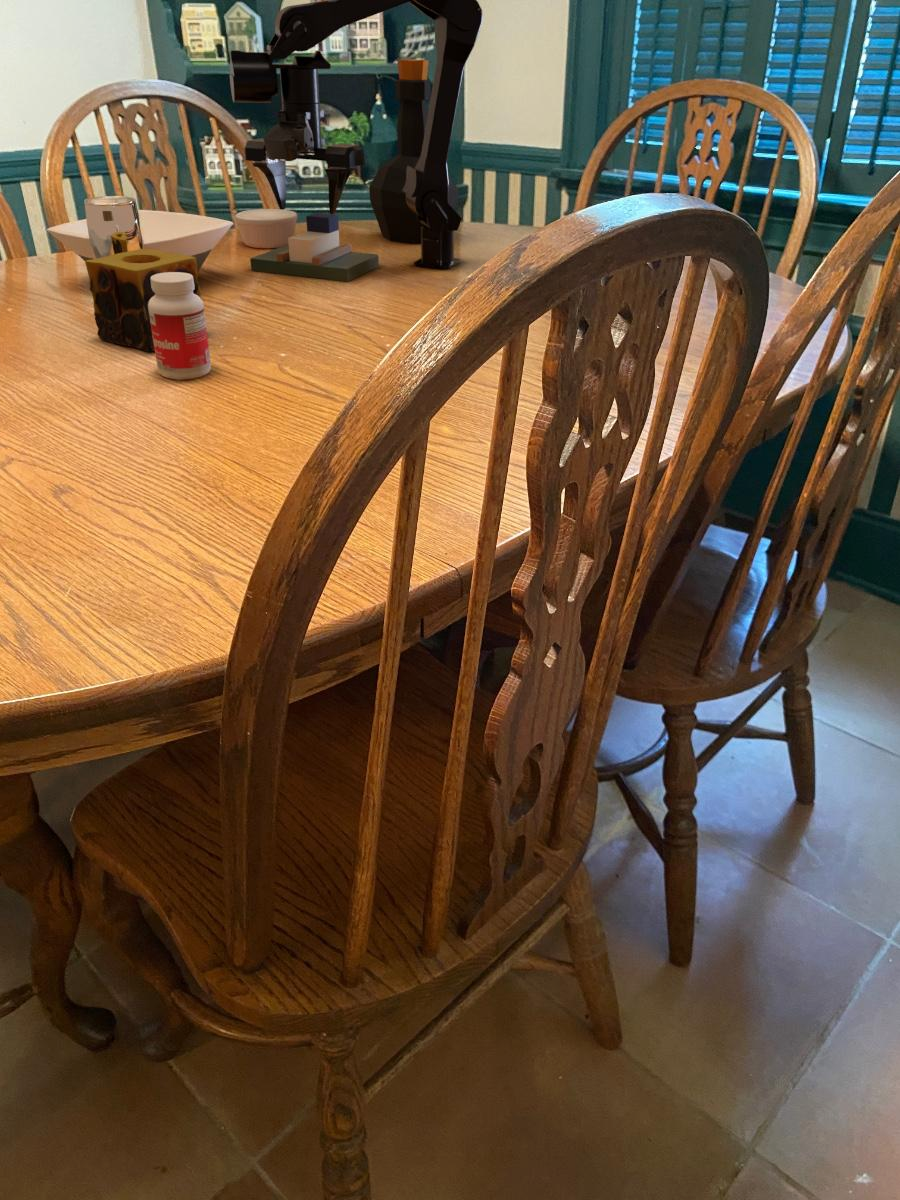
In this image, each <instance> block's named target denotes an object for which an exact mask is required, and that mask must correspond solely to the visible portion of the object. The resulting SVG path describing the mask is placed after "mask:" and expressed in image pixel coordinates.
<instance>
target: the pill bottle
mask: <svg viewBox="0 0 900 1200" xmlns="http://www.w3.org/2000/svg"><path fill="white" fill-rule="evenodd" d="M150 279H151V288H152V290H153V292H155V295H154V296H153V297H152V298H151V299H150V300H149V303H148V310H149V317H150V323H151V329H152V336H153V343H154V349H155V351H154V354H155V355H154V356H155V361H156V366H157V371H158V373H159V374H160V375H161V376H162V377H164V378H167V379H170V380H177V381H179V380H181V381H183V380H184V381H185V380H193V379H197V378H200V377H204V376H206V375H207V374H209V373H210V372H211V369H212V363H211V362H212V361H211V354H210V348H209V338H208V331H207V321H206V315H205V305H204V302H203V299H202V297H201V298H200V297H199V296H197V295H196V294H194V293H193V290H194V289H195V288H194V287H195V285H194V279H193V276H192V275H191V274H188V273H181V272H166V273H159V274H155V275H153V276H151V278H150Z"/></svg>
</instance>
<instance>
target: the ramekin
mask: <svg viewBox="0 0 900 1200" xmlns="http://www.w3.org/2000/svg"><path fill="white" fill-rule="evenodd" d="M234 217H235V222H236V223H237V226H238V230H239V234H240V237H241V240H242V243H243V244H244V245H245V246H247V247H249V248H254V249H277V248H279V247H282V246H285V245H289V243H288V238H290V237H293V236H296V231H297V230H296V229H297V221H298V213H297V212H296V211H293V210H288V209H283V210H281V209H280V208H258V209H257V208H256V209H248V210H243V211H239V212H238V213H236V214H235V216H234Z"/></svg>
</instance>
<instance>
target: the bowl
mask: <svg viewBox="0 0 900 1200" xmlns="http://www.w3.org/2000/svg"><path fill="white" fill-rule="evenodd" d="M138 213H139V218H140V222H141V227H142V233H143V241H144V249H151V250H157V251H163V252H169V253H176V254H182V255H186V256H192V257H195V258H196V262H197V273H198V274H199V271H200V269H201V268H202V267H203V266H204V263H205V262H206V259H207V258H208V257H209V255H210V254H211V252H212V250H213V249H215V247H216V246H217V245H218V243H219V242H220V241H221V240H222V239H223V237H224V236H225V235H226V234H227V233H228V231H230V229H231V228H232V226H233V225H234V222H233V221H230V220H226V219H222V218H217V217H211V216H205V215H200V214H194V213H184V212H173V211H165V210H149V209H138ZM46 231H47V232H48V233H49V234H50V235H51V236H53V237H54V238H55V239H57V240H58V241H59V242H60V243H62V244H63V245H64V246H65V247H66V248H68V249H69V250H70V251H72V252H73V253H74V254H75V255H77V256H78V257H79V258H81V259H82V261H84V262H85V261H86V260H92V259H95V257H94V254H93V250H92V247H91V243H90V239H89V234H88V228H87V221H86V218H84V219H83V218H82V219H79V220H75V221H71V222H64V223H60V224H57V225H54V226H51V227H48V228H47V229H46Z"/></svg>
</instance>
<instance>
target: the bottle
mask: <svg viewBox="0 0 900 1200" xmlns="http://www.w3.org/2000/svg"><path fill="white" fill-rule="evenodd" d="M396 61H397V70H398V78H399V79H396V80H395V99H397V100H399V108H398V114H397V124H396V139H397V141H396V142H397V143H396V145H397V147H396V148H397V154H396V155H395V156H393V157H391V158H390V159H389V160H387V161H386V162H385V163H383V164H382V165H381V166H380V167H379V168H378V170H377V171H376V174H375V176H374V178H373V179H372V181H371V182H370V185H369V186H368V191H369V202H370V204H371V208H372V210H373V213H374V216H375V219H376V221H377V224H378V227H379V230H380V233H381V235H382V236H383V237H385V238H386V239H387V240H389V241H390V242H403V243H421V226H422V225H423V224H422V223H420V222H419V221H418V219H417V216H416V213H414V212H413V211H412V210H411V209H410V208H409V206H408V205H407V203H406V193H405V192H403V191H402V190H403V188H404V186H405V183H406V170H407V166H411V167H413V168H415V167H416V165H417V163H418V161H419V159H420V156H421V152H422V146H423V140H424V134H425V129H426V123H427V117H428V105H427V102H428V101H430V99H431V93H432V87H431V84H432V83H431V81H430V80H428V69H429V61H430V60H428V59H413V58H410V59H409V58H401V59H397V60H396ZM447 171H448V180H449V197H448V204H449V205H450V206H451V207H452V208H453V209H454V210H455V211H456V209H457V205H458V203H459V202H458V200H459V187H458V186H457V184H456V183H455V180H454V179H453V177H452V175H451V173H450V172H449V170H448V169H447Z"/></svg>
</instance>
